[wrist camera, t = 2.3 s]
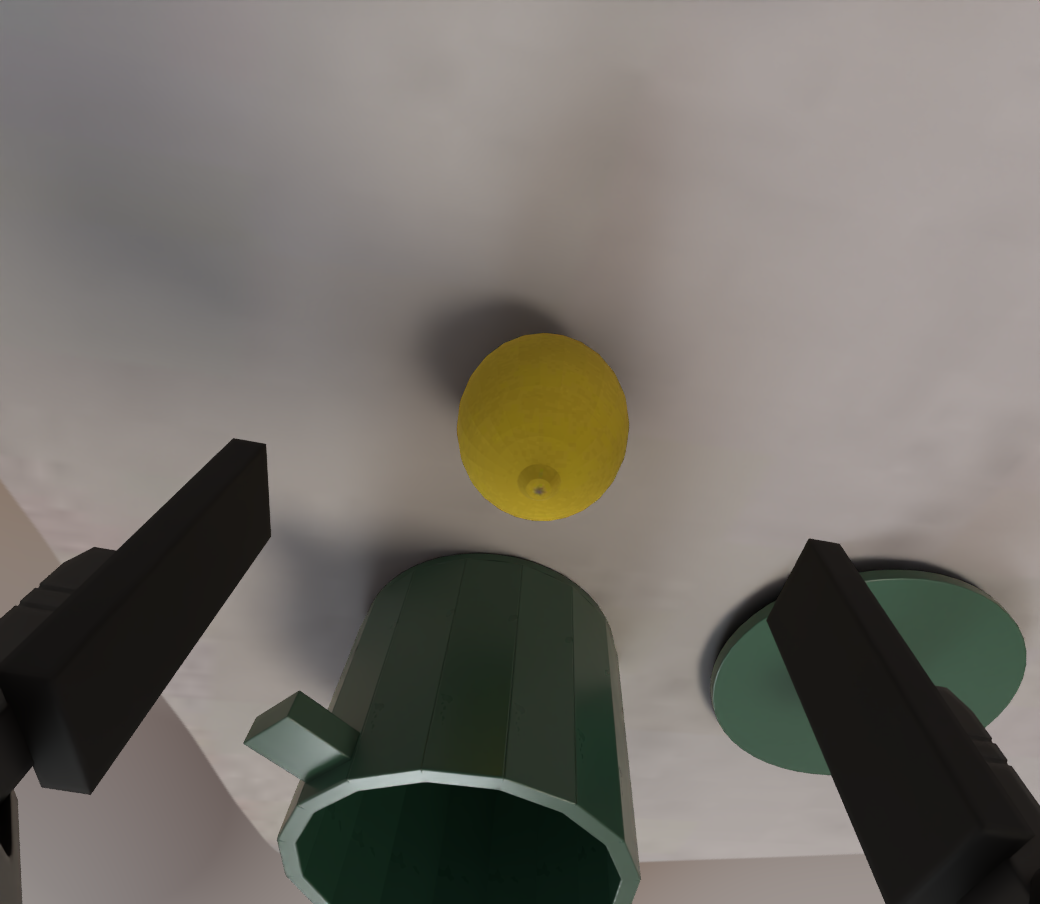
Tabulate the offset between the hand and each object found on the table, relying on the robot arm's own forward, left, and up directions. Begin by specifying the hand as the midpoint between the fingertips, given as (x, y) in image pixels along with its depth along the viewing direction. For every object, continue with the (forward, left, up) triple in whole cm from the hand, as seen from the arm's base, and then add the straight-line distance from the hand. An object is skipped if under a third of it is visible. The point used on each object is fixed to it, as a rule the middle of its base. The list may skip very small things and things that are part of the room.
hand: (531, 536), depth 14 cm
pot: (+12, +10, -10) cm, 18 cm away
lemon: (0, 0, -10) cm, 10 cm away
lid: (-2, +22, -9) cm, 24 cm away
